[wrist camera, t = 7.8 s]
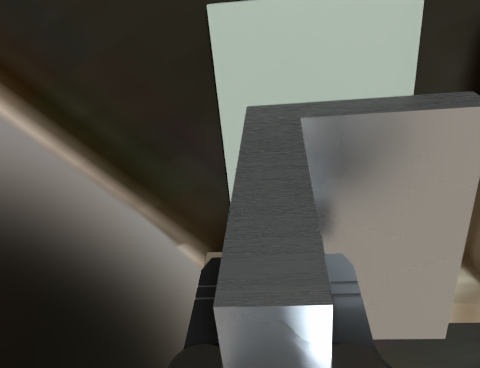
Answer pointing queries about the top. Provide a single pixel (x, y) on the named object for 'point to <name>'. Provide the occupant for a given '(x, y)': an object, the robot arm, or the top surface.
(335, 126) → the angle bracket
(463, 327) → the top surface
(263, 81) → the pad
